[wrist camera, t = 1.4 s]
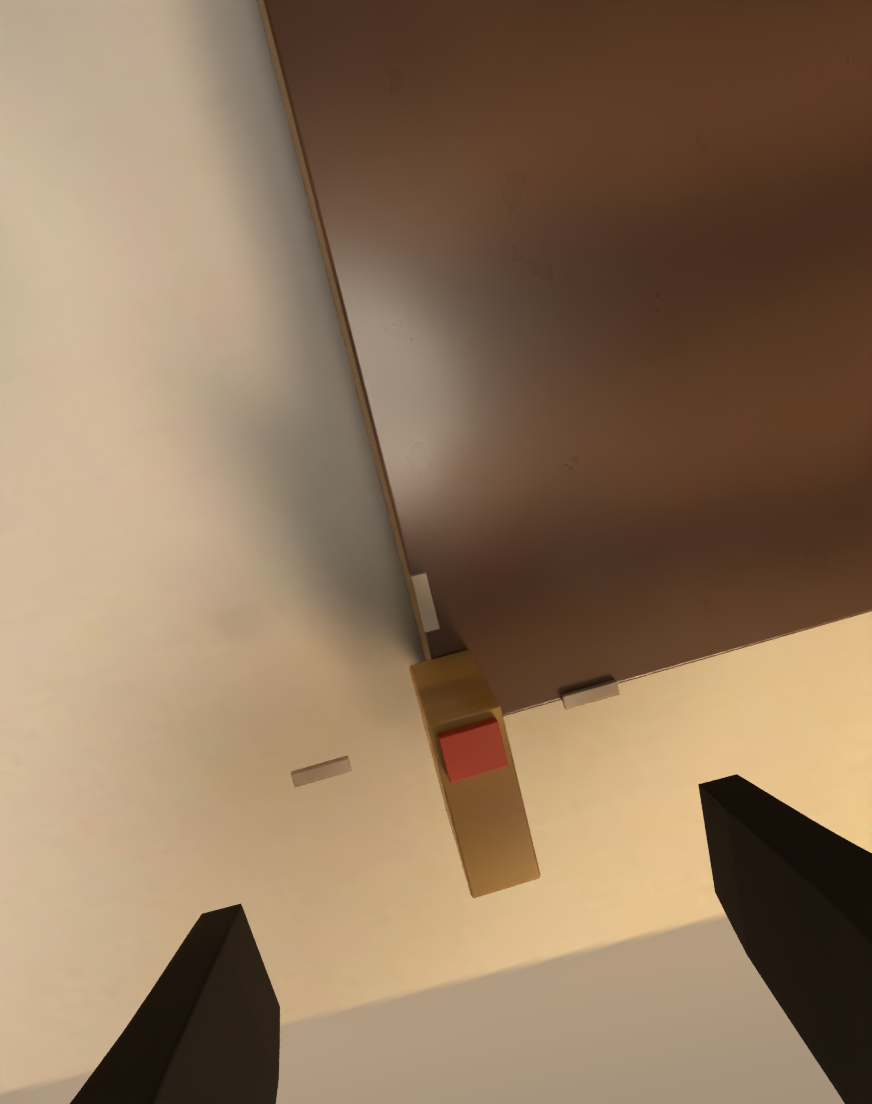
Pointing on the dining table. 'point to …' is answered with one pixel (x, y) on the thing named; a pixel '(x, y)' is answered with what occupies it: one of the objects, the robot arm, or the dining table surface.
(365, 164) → the panel
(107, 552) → the dining table surface
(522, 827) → the tap handle
